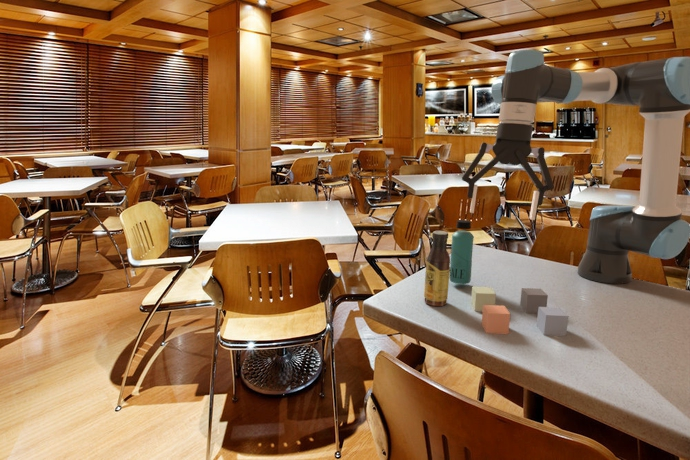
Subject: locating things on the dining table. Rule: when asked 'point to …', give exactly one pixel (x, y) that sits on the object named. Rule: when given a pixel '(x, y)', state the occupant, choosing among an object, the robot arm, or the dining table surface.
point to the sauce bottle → (437, 271)
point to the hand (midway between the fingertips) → (501, 215)
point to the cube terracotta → (495, 319)
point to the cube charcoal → (533, 299)
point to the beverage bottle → (461, 254)
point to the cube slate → (552, 321)
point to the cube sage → (482, 297)
